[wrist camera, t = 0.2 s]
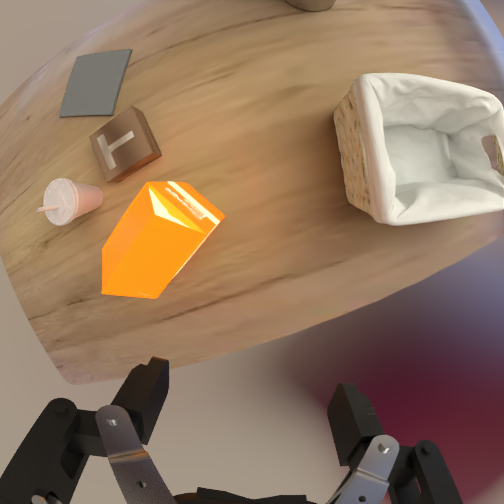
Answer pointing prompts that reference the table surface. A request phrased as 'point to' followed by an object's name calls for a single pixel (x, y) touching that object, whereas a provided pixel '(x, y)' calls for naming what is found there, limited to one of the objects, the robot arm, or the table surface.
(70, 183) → the smoothie
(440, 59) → the table surface
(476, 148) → the storage basket
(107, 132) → the lettered block
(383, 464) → the robot arm
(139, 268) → the orange juice
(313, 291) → the table surface
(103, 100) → the slate pad
